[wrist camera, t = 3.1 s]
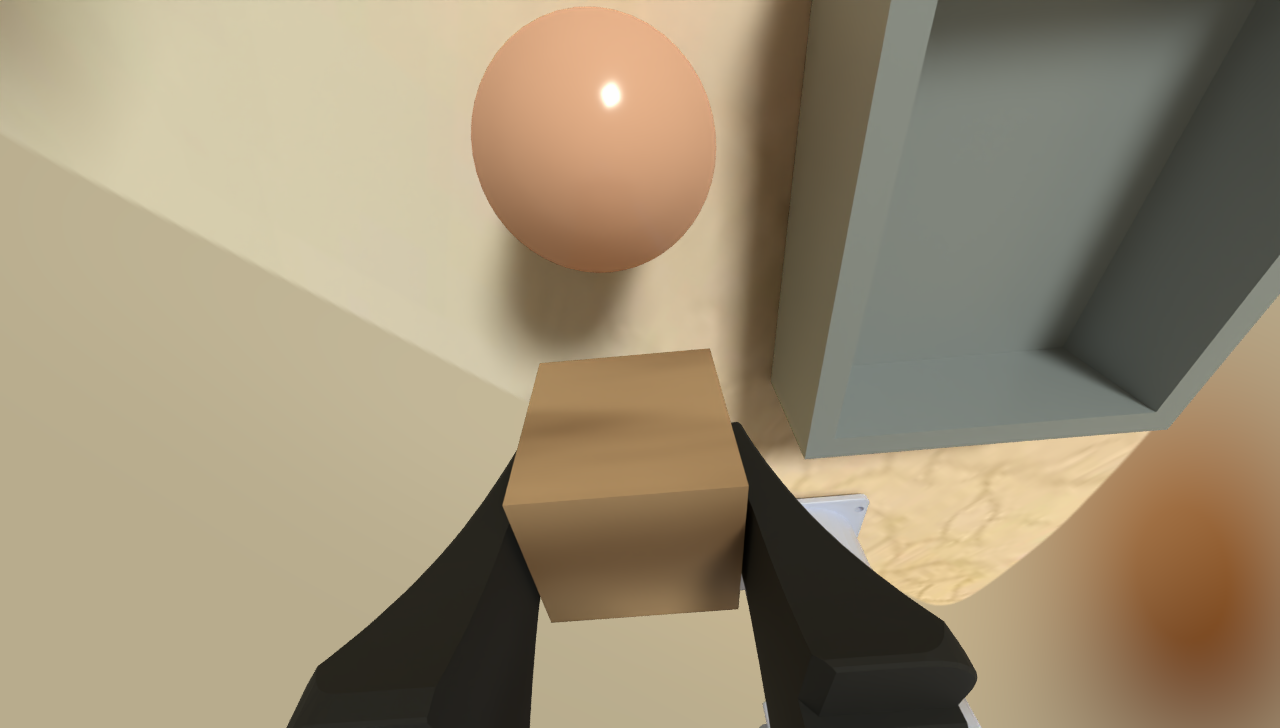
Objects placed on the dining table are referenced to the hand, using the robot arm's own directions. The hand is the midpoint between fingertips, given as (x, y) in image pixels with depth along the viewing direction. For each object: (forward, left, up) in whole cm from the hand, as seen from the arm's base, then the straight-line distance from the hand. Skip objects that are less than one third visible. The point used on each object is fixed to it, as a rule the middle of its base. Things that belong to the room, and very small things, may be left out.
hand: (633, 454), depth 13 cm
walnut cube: (0, 0, -2) cm, 2 cm away
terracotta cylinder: (+8, 0, -8) cm, 11 cm away
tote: (+5, -13, -8) cm, 16 cm away
